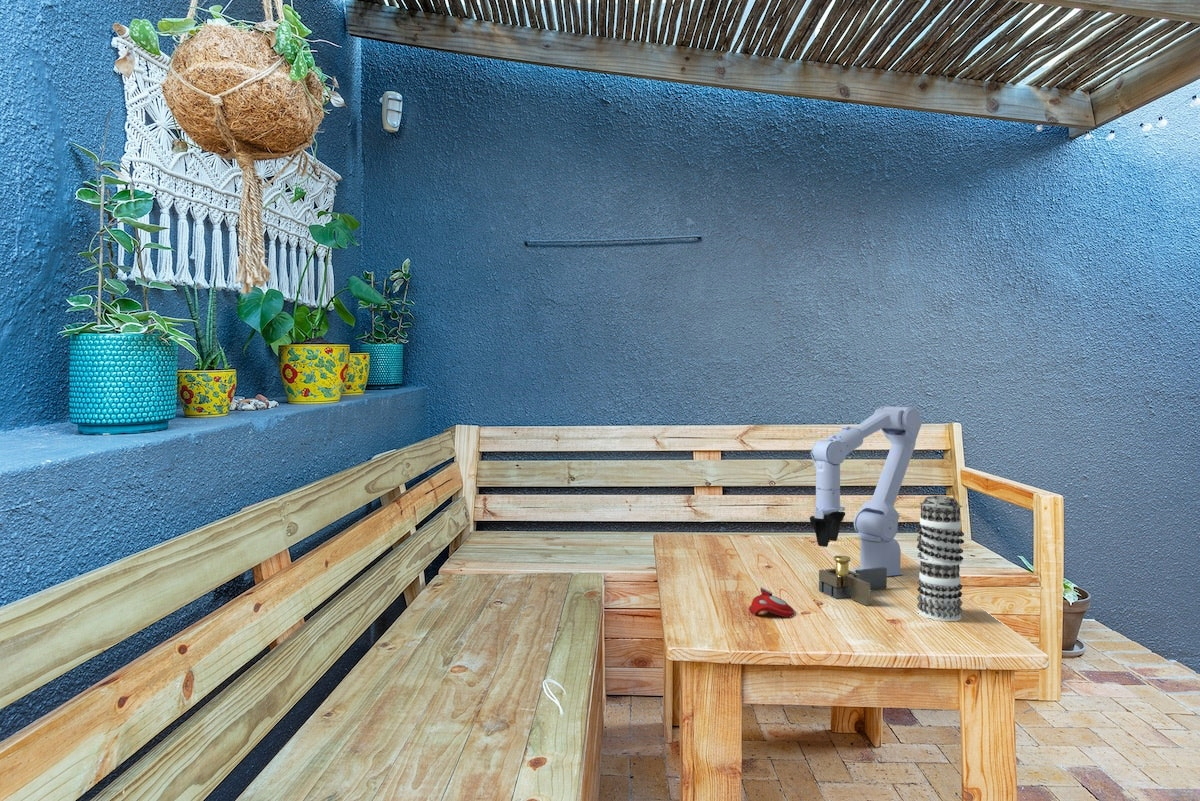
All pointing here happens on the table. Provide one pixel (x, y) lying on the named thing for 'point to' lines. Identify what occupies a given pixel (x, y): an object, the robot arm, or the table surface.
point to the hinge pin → (842, 565)
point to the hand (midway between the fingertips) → (827, 543)
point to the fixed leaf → (872, 576)
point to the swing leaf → (848, 584)
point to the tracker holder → (770, 604)
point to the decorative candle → (939, 559)
